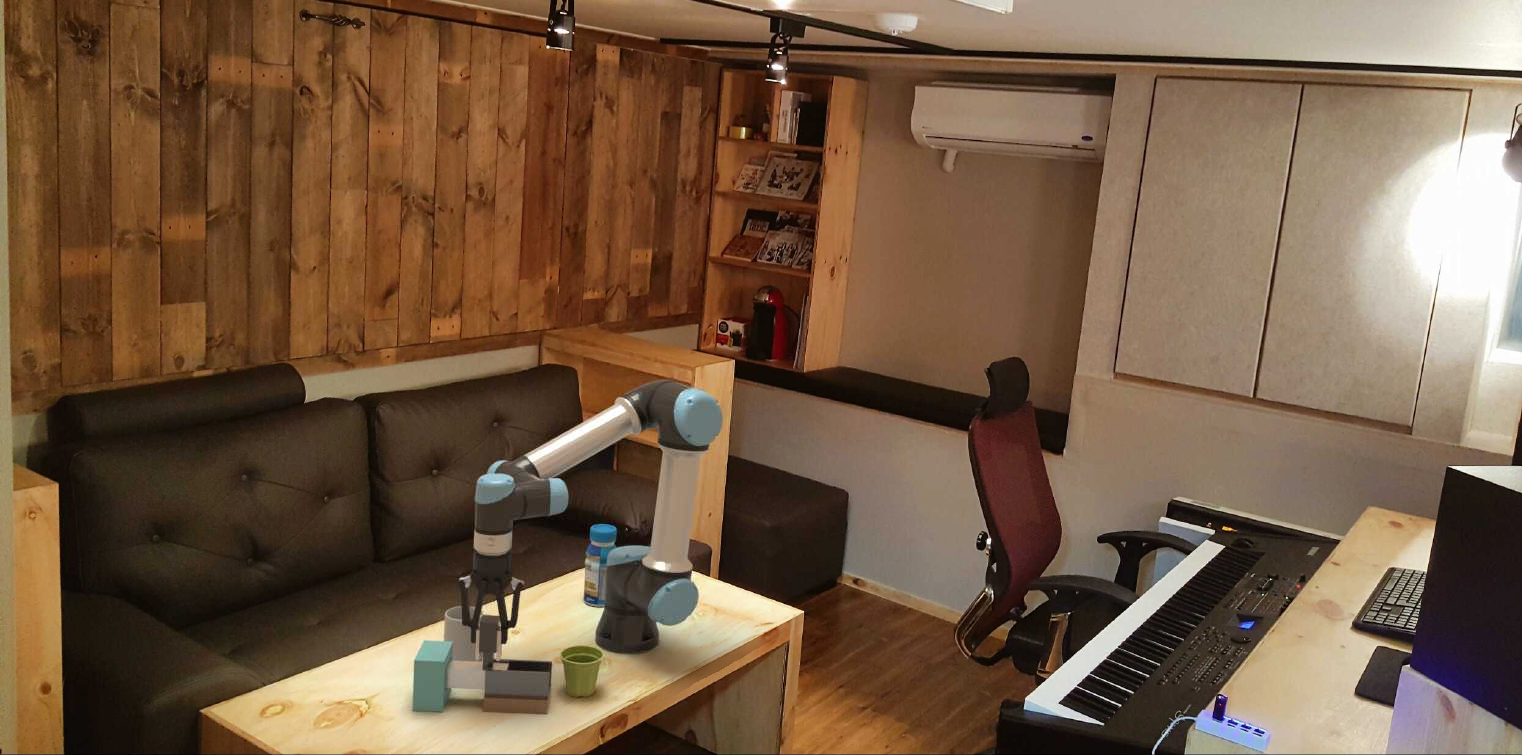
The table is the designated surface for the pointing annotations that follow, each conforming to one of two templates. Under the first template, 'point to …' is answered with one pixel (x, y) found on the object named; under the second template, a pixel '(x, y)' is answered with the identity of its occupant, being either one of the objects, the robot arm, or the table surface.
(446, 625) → the mug
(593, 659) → the plant pot
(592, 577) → the beverage bottle
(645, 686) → the table surface
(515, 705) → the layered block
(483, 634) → the grey sliding latch bolt
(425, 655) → the socket block
